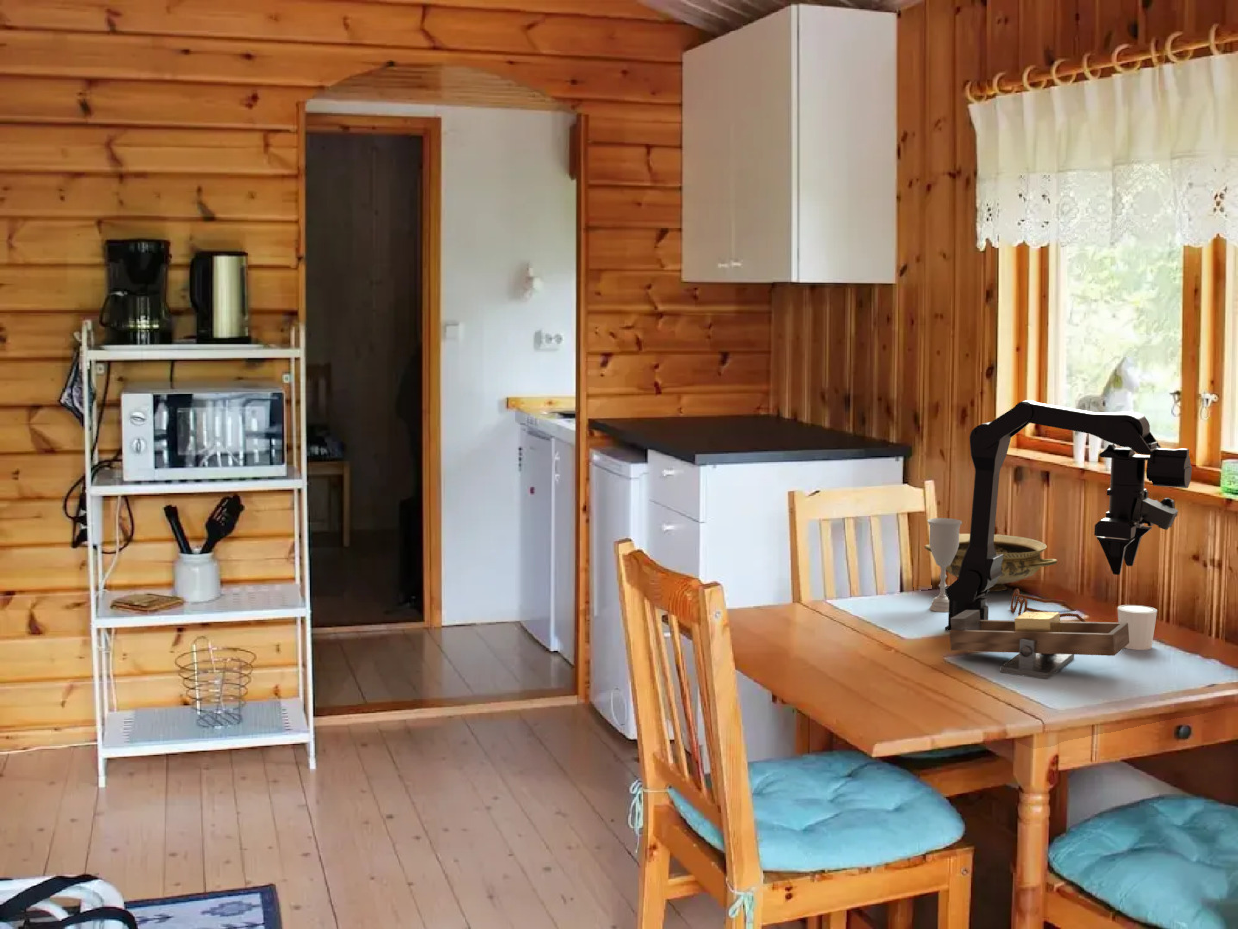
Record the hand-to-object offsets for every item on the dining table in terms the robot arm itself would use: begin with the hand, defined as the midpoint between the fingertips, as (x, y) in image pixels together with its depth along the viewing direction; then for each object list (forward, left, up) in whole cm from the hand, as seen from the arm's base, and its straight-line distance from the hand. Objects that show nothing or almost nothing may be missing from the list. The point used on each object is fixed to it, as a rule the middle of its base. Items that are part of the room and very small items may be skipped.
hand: (1123, 570), depth 262 cm
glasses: (-18, +19, -15) cm, 31 cm away
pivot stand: (-9, -18, -15) cm, 25 cm away
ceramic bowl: (-37, +39, -15) cm, 56 cm away
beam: (-9, -18, -11) cm, 23 cm away
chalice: (-38, +14, -15) cm, 44 cm away
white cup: (+2, +5, -15) cm, 16 cm away
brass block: (-9, -18, -10) cm, 23 cm away
